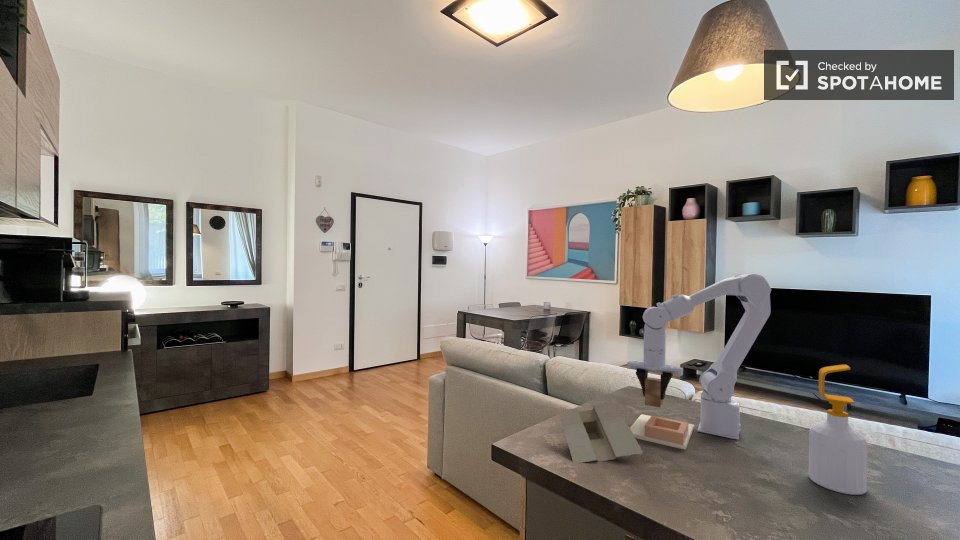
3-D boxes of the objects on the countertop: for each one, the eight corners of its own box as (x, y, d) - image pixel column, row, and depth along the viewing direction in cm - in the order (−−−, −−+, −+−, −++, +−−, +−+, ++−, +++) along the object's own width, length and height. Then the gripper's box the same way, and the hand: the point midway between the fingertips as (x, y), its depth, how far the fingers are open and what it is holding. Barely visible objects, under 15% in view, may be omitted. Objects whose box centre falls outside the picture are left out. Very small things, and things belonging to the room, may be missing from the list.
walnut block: (662, 403, 117) (662, 379, 117) (659, 407, 114) (660, 382, 114) (647, 401, 119) (648, 377, 119) (644, 404, 116) (645, 380, 116)
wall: (639, 469, 98) (616, 411, 109) (645, 452, 92) (621, 394, 103) (571, 479, 97) (555, 420, 109) (573, 463, 92) (556, 403, 103)
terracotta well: (688, 433, 107) (688, 422, 107) (683, 445, 100) (683, 433, 100) (651, 425, 112) (651, 415, 112) (644, 436, 105) (644, 425, 105)
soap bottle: (872, 501, 78) (874, 372, 78) (811, 487, 83) (813, 365, 83) (860, 481, 86) (862, 364, 86) (805, 469, 91) (807, 358, 91)
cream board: (694, 428, 114) (694, 424, 114) (685, 449, 100) (685, 445, 100) (641, 417, 121) (641, 414, 121) (626, 436, 107) (626, 432, 107)
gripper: (624, 348, 117) (623, 395, 117) (680, 354, 109) (679, 405, 109) (630, 345, 123) (630, 390, 123) (684, 350, 115) (683, 399, 115)
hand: (653, 397), depth 116 cm, fingers closed on walnut block, 4 cm apart
